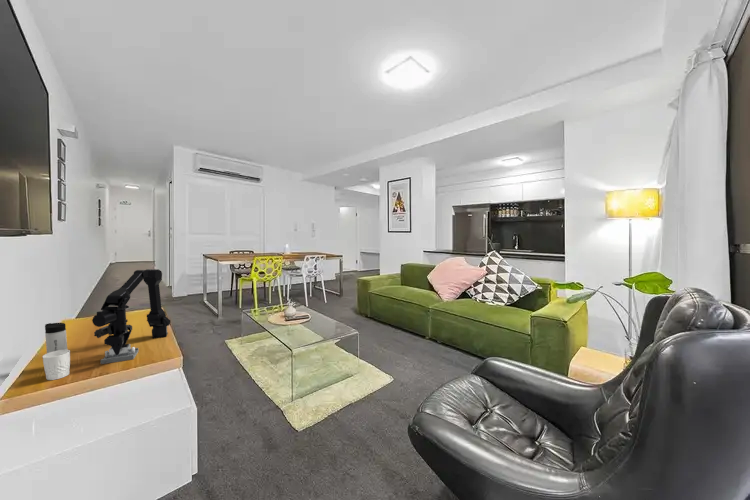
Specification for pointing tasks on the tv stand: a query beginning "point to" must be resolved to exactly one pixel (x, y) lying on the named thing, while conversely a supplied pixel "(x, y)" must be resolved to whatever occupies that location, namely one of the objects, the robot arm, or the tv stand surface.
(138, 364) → the tv stand surface
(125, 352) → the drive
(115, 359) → the tray
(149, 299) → the robot arm
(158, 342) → the tv stand surface
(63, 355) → the white cup
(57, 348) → the travel mug
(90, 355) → the tv stand surface
